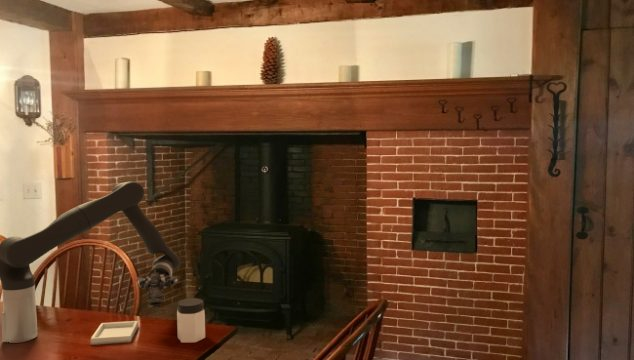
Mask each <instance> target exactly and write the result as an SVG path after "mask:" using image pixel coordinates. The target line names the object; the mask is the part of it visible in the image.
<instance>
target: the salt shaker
mask: <svg viewBox="0 0 634 360" xmlns="http://www.w3.org/2000/svg"><path fill="white" fill-rule="evenodd" d="M150 277H151V283H150V289H149V292H148V293H146V298H147V301H148V302H149V303H147V304H146V305H147V307H148V308H158V307H162V306H163V305H164V302H163V301H162V300H163V299H164V295H165V292H162V291H159V284H160V282H159V273H157V272H155V270H154V272H153V273H151V275H150Z"/></svg>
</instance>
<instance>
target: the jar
mask: <svg viewBox="0 0 634 360" xmlns="http://www.w3.org/2000/svg"><path fill="white" fill-rule="evenodd" d="M205 313H206V312H205V308H204V300H203V299H201V298H185V299H181V300H179V301H178V302H177V310H176V325H177V326H176V327H177V328H176V329H177V339H178V340H179V341H180V343H197V342H199V341H202V340H203V339H205V338H206V315H205Z"/></svg>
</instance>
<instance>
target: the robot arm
mask: <svg viewBox="0 0 634 360" xmlns="http://www.w3.org/2000/svg"><path fill="white" fill-rule="evenodd" d="M144 189H145V188H144V187H143V186H142V184H140V183H138V182H136V181H125V182H121V183H118V184H116V185H115V186H114V187H113V188H112V192H110V193H109V194H106V195H105V196H102V197H100V198H96V199H93V200H90V201H87V202H85V203H82V204H79V205H77V206H75V207H73V208H71V209H69V210H67V211H65V212H64V213H61V214H60V215H59V216H58V217H56V218H54V220H53V221H52V222H51V223H50V224H49V225H48V226H46V227H45V228H44V229H42V230H39V231H38V232H35V233H34V234H30V235H29V236H26V237H21V236H8V237H7V238H4V239H3V240H2V241H1V242H0V283H1V288H2V289H1V291H2V293H1V295H2V306H3V311H2V312H1V313H0V321H1V336H2V337H1V338H2V339H1V340H2V343H8V342H9V343H10V344H17V343H19V344H20V343H25V342H28V341H31V340H33V339H35V338H36V337H38V326H37V325H38V323H37V321H38V320H37V305H36V304H37V303H36V302H37V301H36V281H35V276H34V274H33V273H32V271H31V267H30V265H31V264H33V263H34V262H36V261H37V260H38V259H40V258H42V256H44V255H45V254H48V253H49V252H50V251H52V250H53V249H56V247H59V246H60V245H62V244H65V243H66V242H69V241H71V240H72V239H74V238H77V237H78V236H81V235H82V234H84V233H86V232H89V231H90V230H91V229H93V228H95V227H96V226H99V224H101V223H103V222H105V221H106V220H108V219H109V218H110V217H112V216H114V215H115V214H117V213H120V212H122V213H123V214H124V216H125V217H126V218H127V220H128V221H129V222H130V224H131V225H132V227H133V228H134V229H135V231H136V232H137V234H138V237H140V239H141V241H142V243H143V245H144V246H145V248H146V250H147V251H148V253H149V254H150V255H157V254H163V255H161V256H159V257H157V258H156V259H154V260H153V261H152V262H151V266H152V268H151V270H150V271H149V273H148V276H146V277H145V278H144V277H141V276H138V277H137V285H138V286H139V288H140V289H143V290H144V291H146V292H150V289H151V288H150V283H151V277H150V275H151V273H153V272H154V270H155V272H157V273H159V282H160V284H159V291H161V292H162V291H163V290H164V289H165V288H166V287H167V288H172V287H173V286H175V285H177V284H178V275H173V272H174V271H175V270H177V269H178V268H180V266H181V259H180V256H178V254H177V253H176V252H174V250H173V249H171V248H170V247H169V246H168V244H167V243H166V241H165V239H164V238H163V236H162V235H161V232H160V231H159V229H158V228H157V227H156V225H155V224H154V223H153V222H152V221H151V220H150V218H148V217H147V216H146V214H145V213H144V212H143V210H142V209H141V207H140V205H139V203H141V201H142V200H143V199H144V196H145V190H144Z"/></svg>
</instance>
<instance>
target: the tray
mask: <svg viewBox="0 0 634 360" xmlns="http://www.w3.org/2000/svg"><path fill="white" fill-rule="evenodd" d="M138 327H139V321H138V320H130V321H113V322H101V323H100V325H99V326H98V327H97V329H96V330H95V332H94V333H93V334H92V336H91V337H90V345H93V346H95V345H108V344H121V343H131V342H132V340H133V338H134V336H135V333H136V332H137V330H138Z"/></svg>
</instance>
